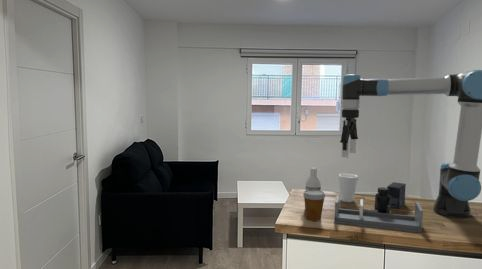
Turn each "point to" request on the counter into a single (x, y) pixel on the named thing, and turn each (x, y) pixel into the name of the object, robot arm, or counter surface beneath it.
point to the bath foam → (313, 181)
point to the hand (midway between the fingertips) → (348, 155)
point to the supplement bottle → (382, 200)
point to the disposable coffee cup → (313, 204)
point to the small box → (397, 194)
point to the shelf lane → (380, 219)
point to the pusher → (365, 210)
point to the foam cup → (347, 186)
